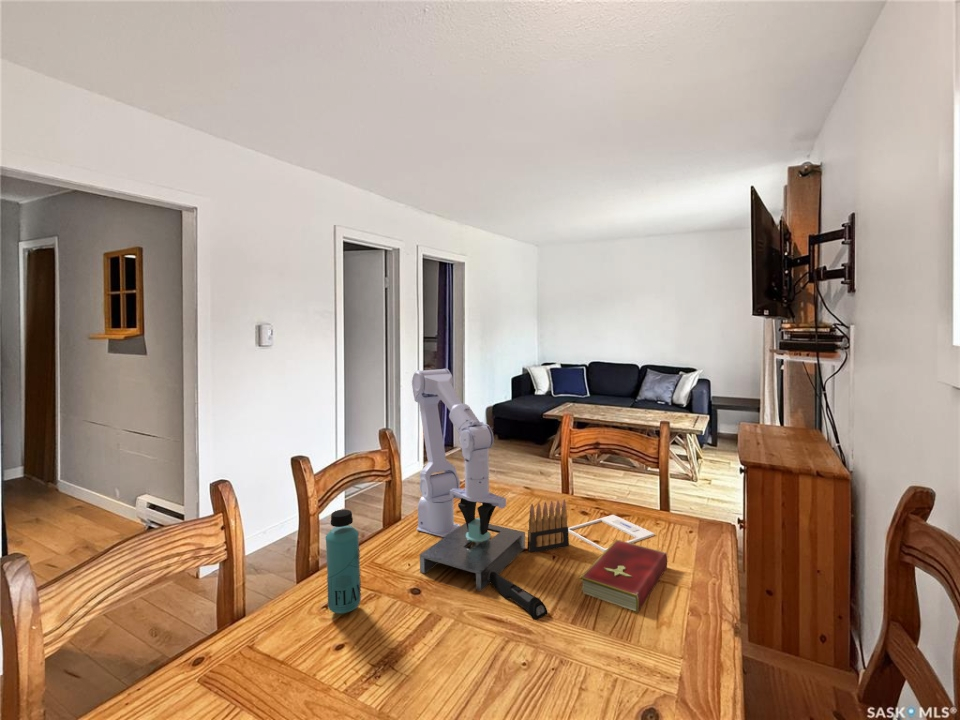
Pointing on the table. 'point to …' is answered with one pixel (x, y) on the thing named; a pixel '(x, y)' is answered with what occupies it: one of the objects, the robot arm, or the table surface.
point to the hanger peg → (476, 533)
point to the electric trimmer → (518, 596)
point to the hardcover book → (625, 574)
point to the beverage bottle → (343, 564)
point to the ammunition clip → (548, 528)
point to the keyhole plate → (475, 553)
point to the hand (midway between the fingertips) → (477, 531)
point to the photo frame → (618, 524)
